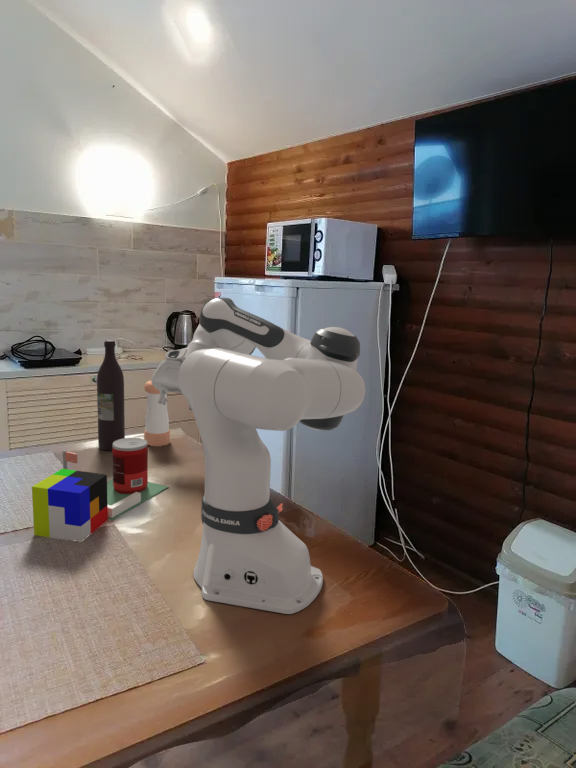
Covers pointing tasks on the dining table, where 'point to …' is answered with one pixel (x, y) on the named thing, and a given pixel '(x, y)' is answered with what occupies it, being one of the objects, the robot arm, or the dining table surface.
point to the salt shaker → (156, 418)
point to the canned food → (130, 465)
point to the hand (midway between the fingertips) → (176, 406)
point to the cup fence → (112, 509)
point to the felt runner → (146, 494)
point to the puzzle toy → (70, 504)
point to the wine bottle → (110, 399)
